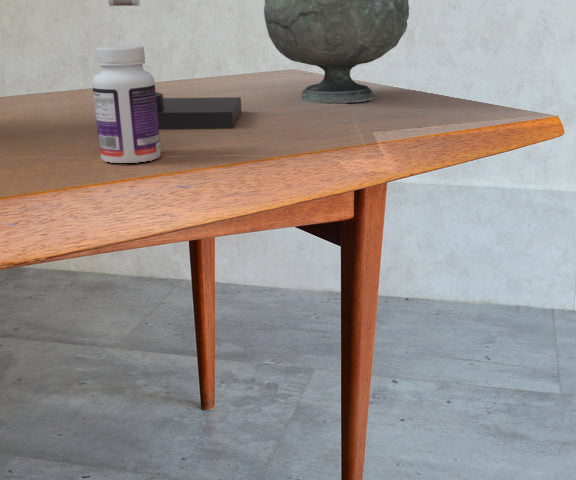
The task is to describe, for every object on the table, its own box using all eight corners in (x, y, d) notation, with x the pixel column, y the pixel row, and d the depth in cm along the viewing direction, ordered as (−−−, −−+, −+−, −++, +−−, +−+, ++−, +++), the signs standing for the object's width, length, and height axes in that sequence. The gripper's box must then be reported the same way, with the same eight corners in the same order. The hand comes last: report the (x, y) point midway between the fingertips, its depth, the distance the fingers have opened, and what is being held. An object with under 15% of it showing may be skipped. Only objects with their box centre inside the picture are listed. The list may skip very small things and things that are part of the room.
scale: (105, 131, 81) (101, 98, 79) (130, 114, 92) (127, 85, 91) (232, 130, 80) (231, 97, 79) (241, 112, 92) (240, 83, 90)
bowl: (359, 87, 115) (361, -17, 109) (433, 101, 98) (440, -20, 93) (242, 95, 107) (238, -16, 101) (301, 113, 91) (300, -19, 85)
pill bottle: (159, 151, 70) (150, 43, 66) (162, 163, 65) (153, 47, 61) (101, 154, 69) (89, 45, 65) (99, 167, 64) (86, 49, 60)
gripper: (222, -142, 74) (226, 4, 80) (21, -141, 75) (38, 5, 80) (215, -153, 69) (221, 6, 74) (-3, -152, 69) (18, 6, 74)
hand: (124, 5), depth 77 cm, fingers closed
